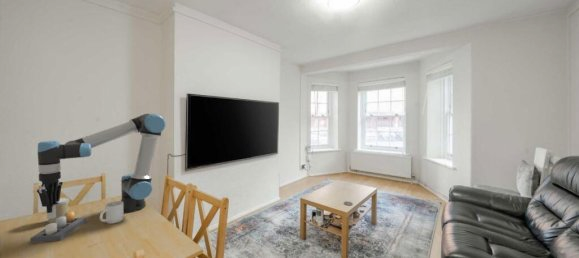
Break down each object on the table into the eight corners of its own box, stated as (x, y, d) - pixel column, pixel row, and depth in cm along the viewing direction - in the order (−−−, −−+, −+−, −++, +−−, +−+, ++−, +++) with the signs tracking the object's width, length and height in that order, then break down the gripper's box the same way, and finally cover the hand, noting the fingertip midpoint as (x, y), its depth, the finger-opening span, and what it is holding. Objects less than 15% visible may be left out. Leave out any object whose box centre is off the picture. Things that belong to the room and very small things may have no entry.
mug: (104, 228, 124) (103, 210, 124) (95, 225, 127) (94, 207, 127) (126, 219, 135) (126, 202, 135) (118, 216, 139) (117, 200, 138)
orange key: (76, 219, 128) (76, 211, 128) (71, 222, 125) (71, 214, 124) (68, 220, 128) (67, 211, 127) (62, 223, 124) (62, 214, 123)
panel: (86, 221, 131) (86, 217, 131) (60, 240, 112) (60, 235, 111) (61, 223, 128) (61, 218, 128) (30, 242, 109) (30, 237, 109)
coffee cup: (74, 217, 135) (73, 198, 135) (56, 225, 126) (56, 204, 125) (60, 216, 136) (59, 197, 136) (42, 223, 127) (41, 203, 126)
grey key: (68, 225, 122) (68, 216, 122) (62, 228, 118) (62, 219, 118) (59, 225, 121) (59, 216, 121) (53, 229, 117) (53, 220, 117)
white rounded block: (59, 231, 116) (59, 222, 116) (53, 235, 112) (52, 226, 112) (49, 232, 115) (49, 223, 115) (43, 236, 111) (43, 226, 111)
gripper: (51, 169, 117) (52, 212, 119) (28, 175, 105) (31, 224, 106) (68, 168, 119) (69, 211, 121) (48, 175, 106) (50, 223, 108)
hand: (51, 217), depth 113 cm, fingers closed
